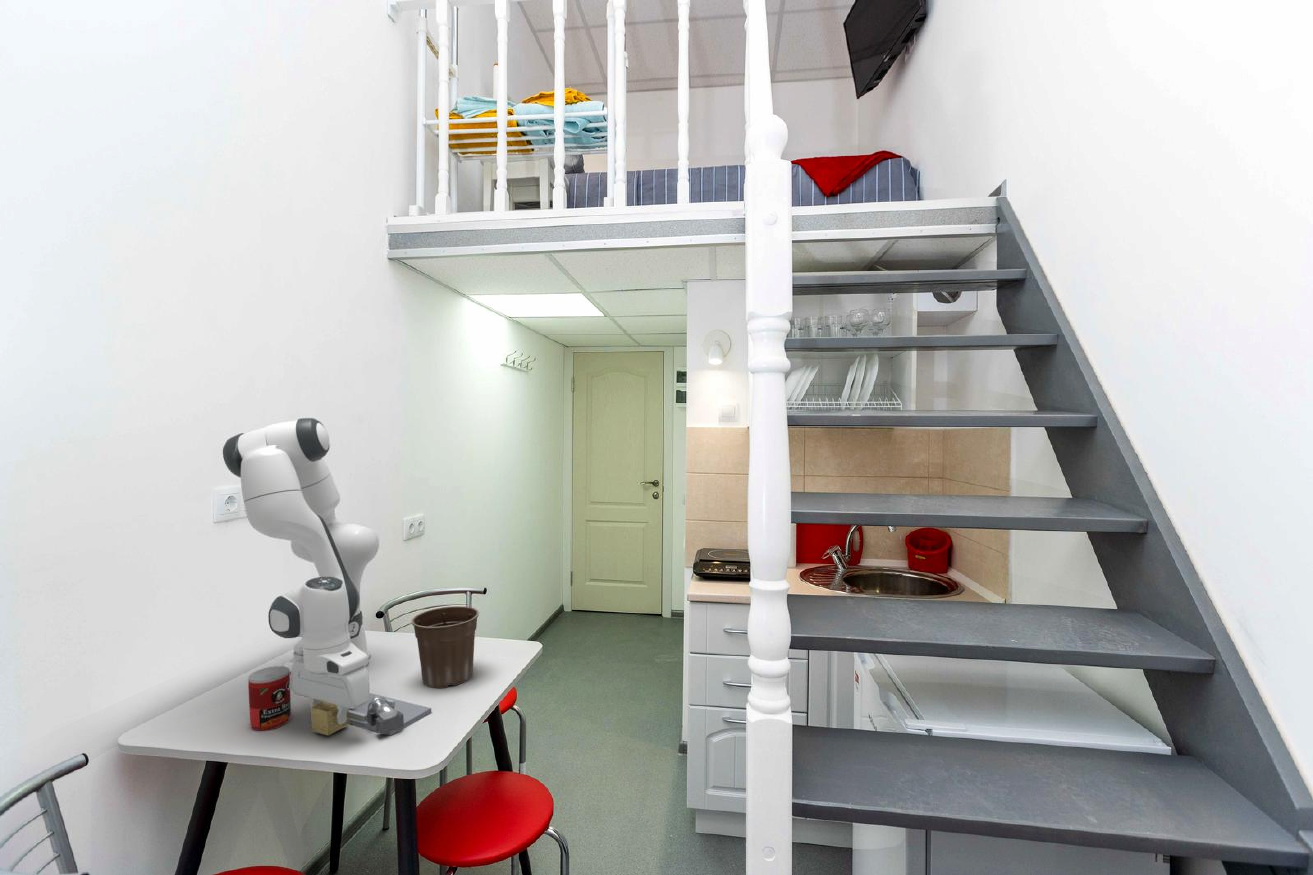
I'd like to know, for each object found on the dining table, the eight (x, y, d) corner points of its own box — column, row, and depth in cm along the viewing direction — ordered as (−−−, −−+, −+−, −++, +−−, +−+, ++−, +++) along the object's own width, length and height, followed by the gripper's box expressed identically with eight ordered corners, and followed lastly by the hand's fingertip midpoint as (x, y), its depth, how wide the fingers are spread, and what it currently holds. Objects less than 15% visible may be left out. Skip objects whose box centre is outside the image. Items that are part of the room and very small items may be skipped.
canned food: (261, 734, 128) (259, 683, 128) (242, 725, 132) (240, 675, 132) (298, 719, 135) (296, 670, 134) (279, 711, 139) (278, 663, 139)
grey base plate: (318, 714, 137) (317, 705, 137) (360, 694, 146) (360, 685, 146) (390, 735, 127) (390, 725, 127) (431, 712, 136) (431, 702, 136)
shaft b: (403, 726, 128) (403, 705, 128) (380, 734, 125) (379, 712, 125) (388, 713, 134) (388, 693, 134) (366, 721, 131) (365, 700, 131)
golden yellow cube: (311, 731, 128) (310, 707, 128) (333, 720, 132) (332, 697, 132) (328, 735, 126) (327, 711, 125) (349, 724, 130) (348, 701, 130)
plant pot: (460, 694, 145) (458, 627, 145) (399, 690, 149) (397, 624, 148) (491, 667, 161) (490, 607, 161) (436, 664, 165) (434, 605, 164)
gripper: (281, 654, 130) (284, 717, 130) (347, 668, 121) (350, 736, 122) (308, 643, 136) (311, 704, 136) (374, 656, 127) (376, 722, 127)
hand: (330, 720), depth 129 cm, fingers closed on golden yellow cube, 5 cm apart
